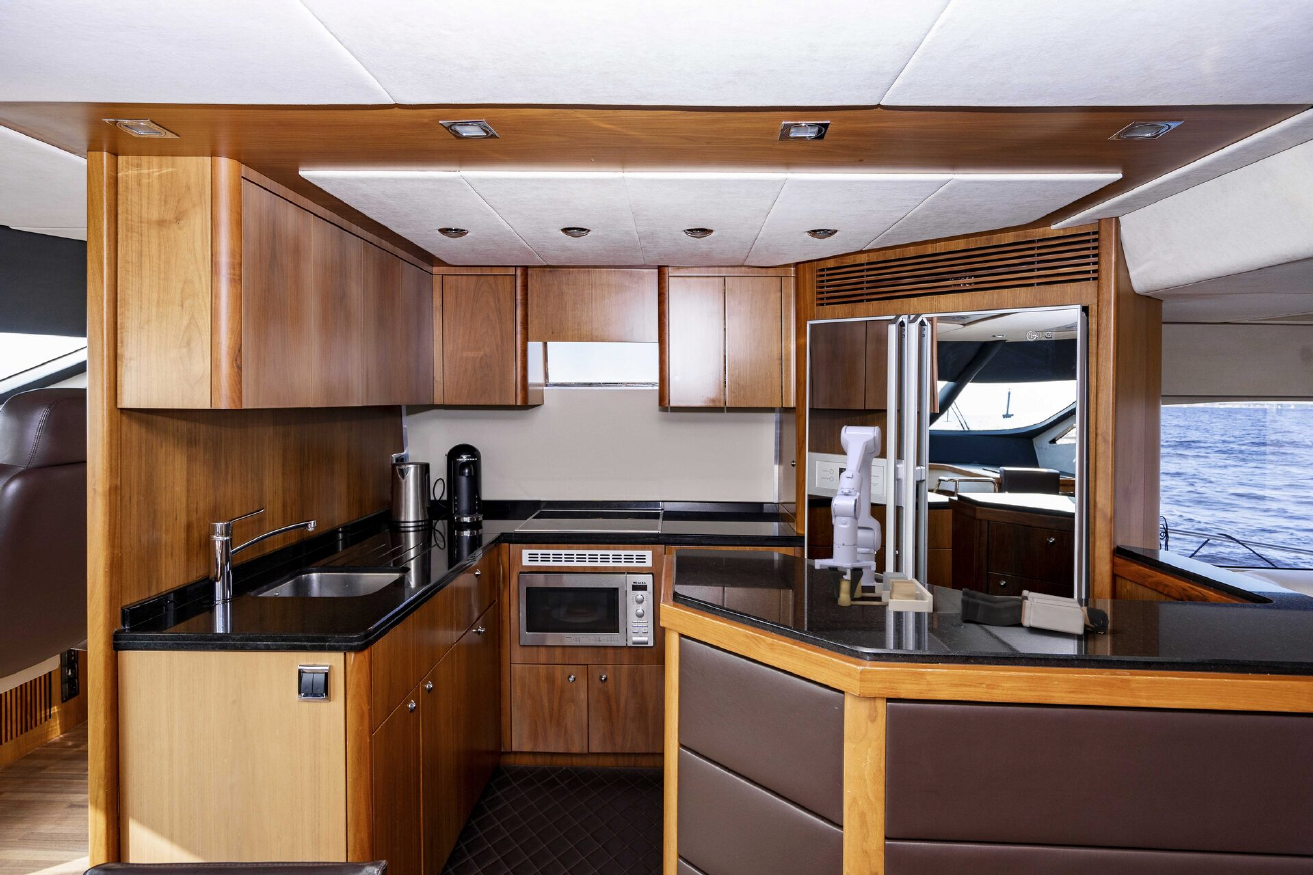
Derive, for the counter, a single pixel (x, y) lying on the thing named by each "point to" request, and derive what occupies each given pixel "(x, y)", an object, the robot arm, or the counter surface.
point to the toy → (1032, 612)
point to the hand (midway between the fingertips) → (844, 597)
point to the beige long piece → (897, 592)
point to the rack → (920, 603)
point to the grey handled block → (886, 583)
